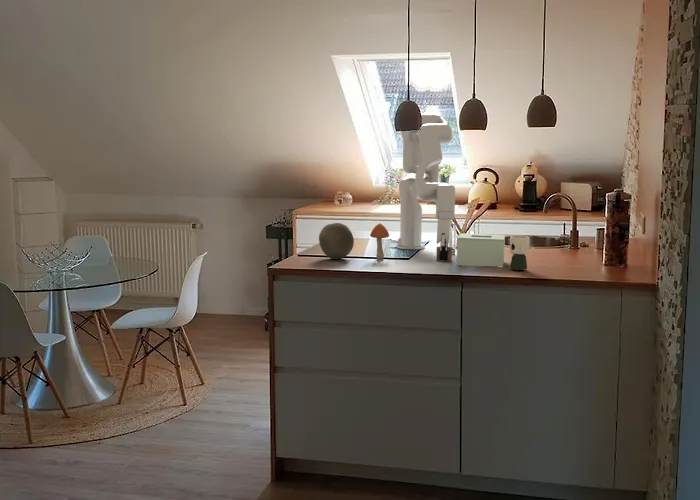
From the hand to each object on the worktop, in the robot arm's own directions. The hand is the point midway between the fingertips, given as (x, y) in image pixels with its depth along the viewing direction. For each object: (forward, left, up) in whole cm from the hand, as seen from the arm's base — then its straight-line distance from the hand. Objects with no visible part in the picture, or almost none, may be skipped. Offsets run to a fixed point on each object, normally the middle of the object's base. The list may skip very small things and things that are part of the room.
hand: (443, 259), depth 328 cm
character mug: (+30, -14, -1) cm, 33 cm away
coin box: (+15, -3, 0) cm, 15 cm away
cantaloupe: (-43, -9, -1) cm, 44 cm away
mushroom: (-26, -4, -1) cm, 26 cm away
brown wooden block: (0, 0, 0) cm, 0 cm away
